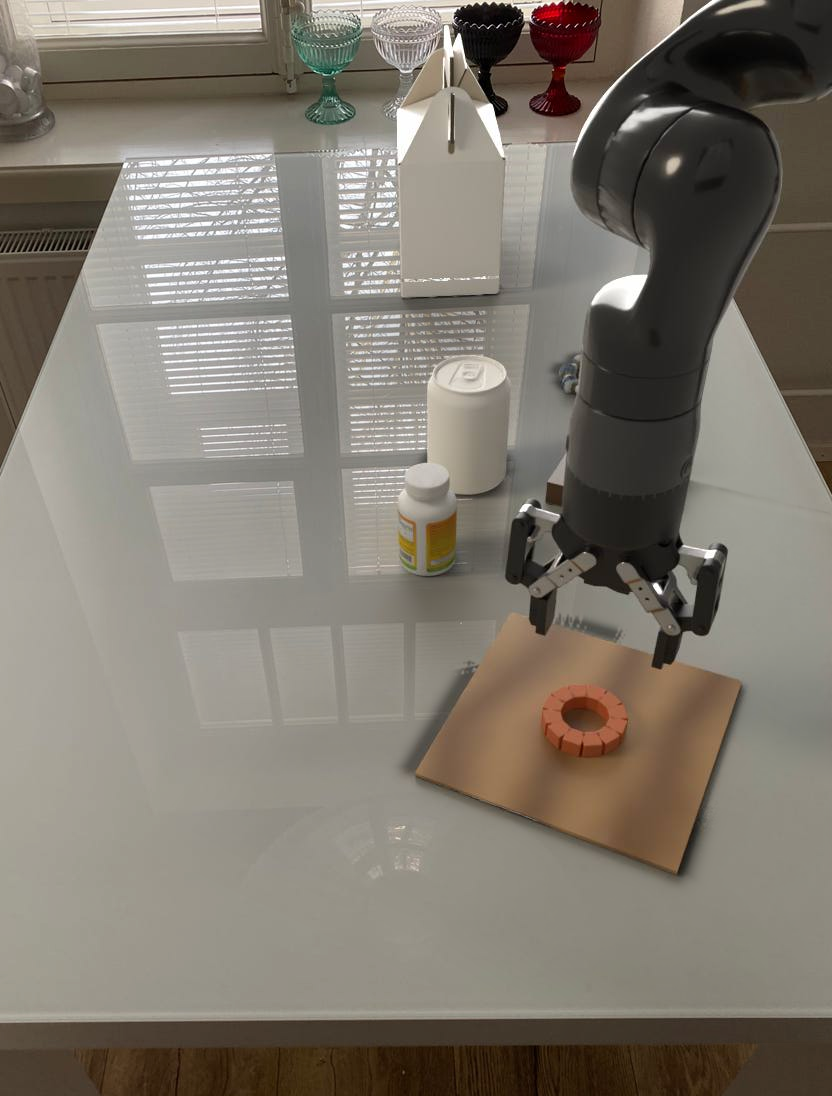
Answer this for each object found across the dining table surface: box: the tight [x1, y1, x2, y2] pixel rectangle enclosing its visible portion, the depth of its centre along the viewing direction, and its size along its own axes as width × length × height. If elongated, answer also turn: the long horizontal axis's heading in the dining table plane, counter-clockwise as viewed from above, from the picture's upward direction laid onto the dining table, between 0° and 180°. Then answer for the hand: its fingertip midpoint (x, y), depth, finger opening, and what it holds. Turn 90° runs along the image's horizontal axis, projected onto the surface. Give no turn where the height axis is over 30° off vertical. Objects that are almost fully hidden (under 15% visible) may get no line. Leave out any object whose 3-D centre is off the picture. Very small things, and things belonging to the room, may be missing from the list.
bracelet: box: [558, 354, 581, 394], centre depth 115 cm, size 10×10×2 cm
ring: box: [541, 684, 628, 757], centre depth 78 cm, size 6×6×1 cm
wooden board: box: [414, 611, 743, 876], centre depth 78 cm, size 20×20×1 cm
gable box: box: [396, 25, 507, 297], centre depth 132 cm, size 22×13×28 cm, turn 179°
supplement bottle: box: [397, 462, 458, 577], centre depth 91 cm, size 5×5×10 cm
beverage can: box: [426, 354, 512, 496], centre depth 100 cm, size 8×8×12 cm
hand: (600, 643), depth 72 cm, fingers open, 8 cm apart
